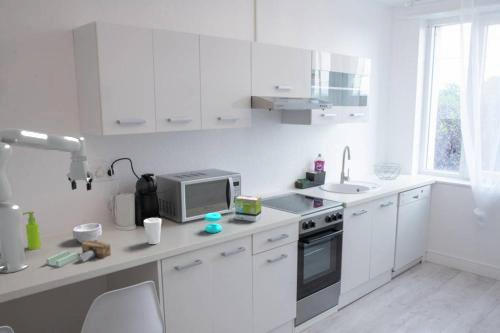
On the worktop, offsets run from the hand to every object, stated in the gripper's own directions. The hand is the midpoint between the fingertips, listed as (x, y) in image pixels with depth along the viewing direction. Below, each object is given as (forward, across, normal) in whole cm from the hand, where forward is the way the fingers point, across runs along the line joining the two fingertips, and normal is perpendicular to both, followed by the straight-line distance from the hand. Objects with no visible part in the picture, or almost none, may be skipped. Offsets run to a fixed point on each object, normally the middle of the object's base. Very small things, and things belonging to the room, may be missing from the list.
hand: (81, 189), depth 221 cm
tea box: (+30, +80, +60) cm, 104 cm away
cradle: (+30, +9, -30) cm, 43 cm away
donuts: (+30, +66, +31) cm, 79 cm away
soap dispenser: (+30, -20, -17) cm, 40 cm away
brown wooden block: (+29, +20, -18) cm, 40 cm away
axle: (+30, +20, -21) cm, 41 cm away
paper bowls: (+30, +2, 0) cm, 30 cm away
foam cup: (+30, +41, +4) cm, 51 cm away
